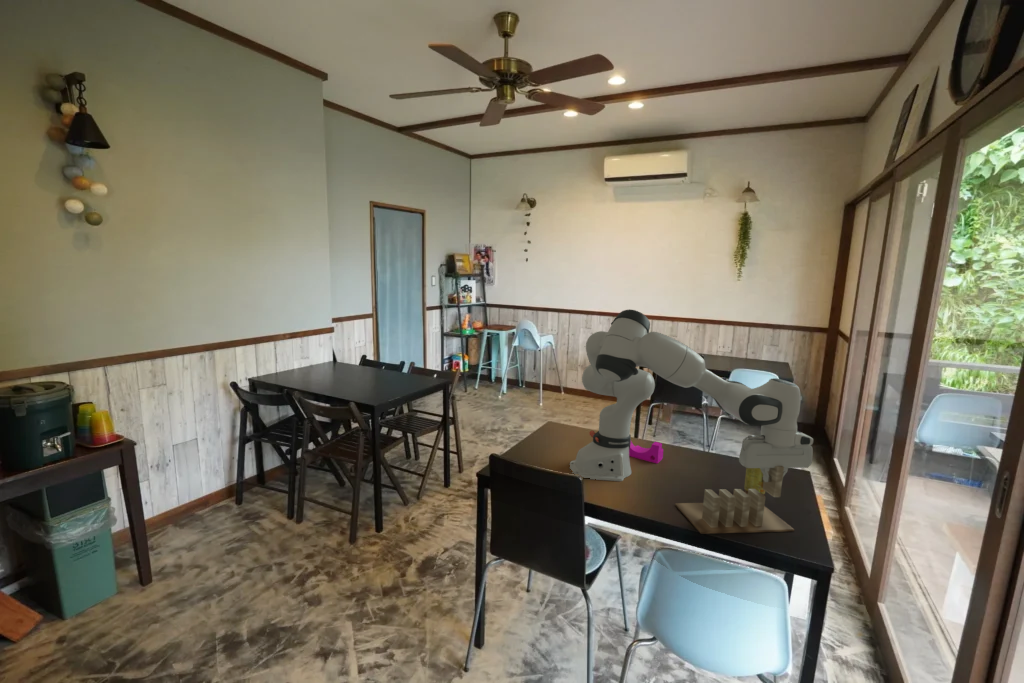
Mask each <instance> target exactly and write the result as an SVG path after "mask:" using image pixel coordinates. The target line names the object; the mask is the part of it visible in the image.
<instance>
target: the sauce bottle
mask: <svg viewBox="0 0 1024 683" xmlns="http://www.w3.org/2000/svg"><path fill="white" fill-rule="evenodd" d="M763 481H764V480H763V473H762V471H761V469H760V468H746V467H745V478H744V489H743V491H744V492H745V493H746V494H747V495H748V489H756V490H757V491H758V492H760V493H761V494H762V495H764V496H765V494H766V491H765V490H763ZM765 497H766V496H765Z"/></svg>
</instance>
